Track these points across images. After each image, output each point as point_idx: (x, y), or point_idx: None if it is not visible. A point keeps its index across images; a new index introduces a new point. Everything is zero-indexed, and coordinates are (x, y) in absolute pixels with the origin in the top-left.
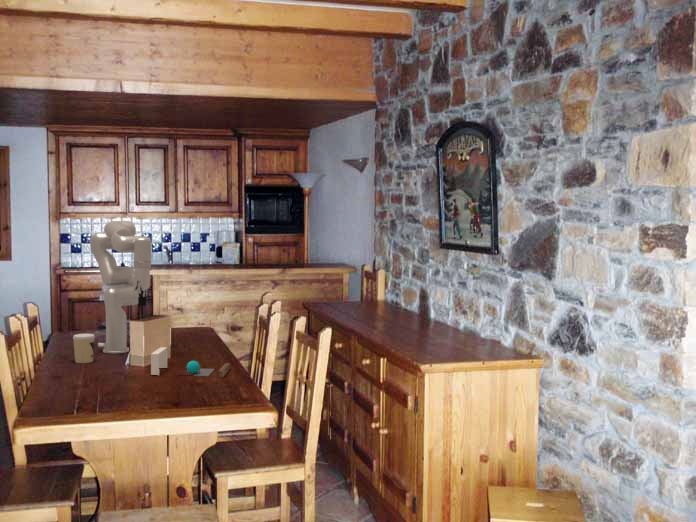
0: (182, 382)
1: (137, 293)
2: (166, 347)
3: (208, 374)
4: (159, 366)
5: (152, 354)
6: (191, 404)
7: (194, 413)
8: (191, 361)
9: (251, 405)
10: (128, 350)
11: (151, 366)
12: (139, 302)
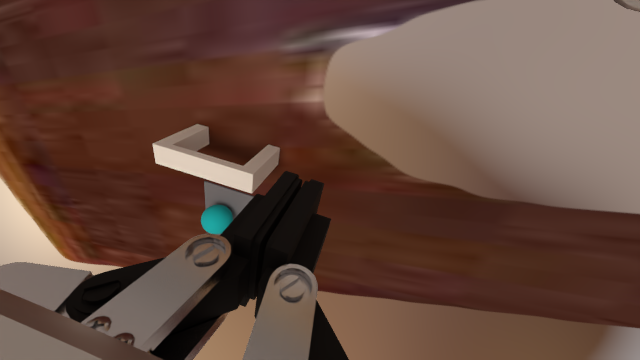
0: (155, 184)
1: (13, 264)
2: (248, 191)
3: (217, 234)
4: (265, 147)
5: (154, 147)
6: (44, 184)
7: (13, 183)
8: (205, 224)
9: (75, 248)
10: (629, 6)
11: (181, 132)
12: (253, 198)
